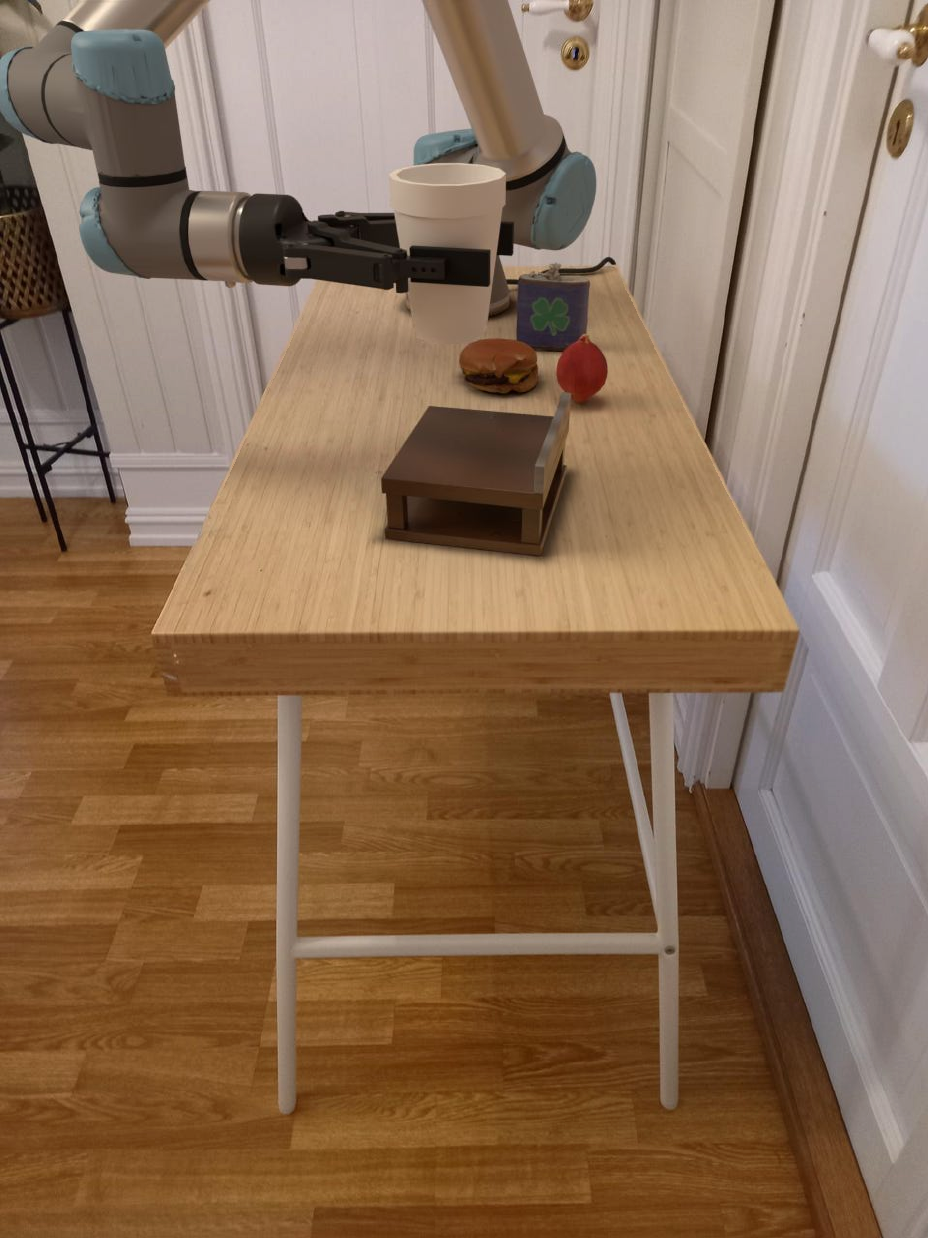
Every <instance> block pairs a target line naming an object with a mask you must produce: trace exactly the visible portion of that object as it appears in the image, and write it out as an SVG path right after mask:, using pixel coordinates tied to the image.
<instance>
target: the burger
mask: <svg viewBox="0 0 928 1238" xmlns="http://www.w3.org/2000/svg"><path fill="white" fill-rule="evenodd" d="M516 340H517V339H510V338H499V337H497V338H494V337H493V338H485V339H483V338H482V339H478V340H476V341H474V342H470V343H468V344H467V345H465V347H464V348H463V349H462V350H461V352H460V353H459V358H458V364H459V368H460V369H461V370H462V371H461V372H462V376H463V380H464V381H465V382H466V383H468V384H469V385H471V387H473V388H474V389H476V390H479V391H484V392H489V393H499V394H503V395H504V394H508V393H510V391H516V392H517V393H520V394H521V393H526V392H529V391H530V390H532V389H533V388H535V387H536V385H537V384H538V373H539V365H538V355H537V352H536V351H535V350H533V349H532V348H531V347H530V346H528V345H527V344H525V343H523V342H520V341H516Z"/></svg>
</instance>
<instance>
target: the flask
mask: <svg viewBox="0 0 928 1238" xmlns="http://www.w3.org/2000/svg"><path fill="white" fill-rule="evenodd" d="M548 268H549V269H550V270H549V269H548V270H549V271H548V272H546V273H541V272H542V271H538V272H537V273H536V271H535V270H532V271H531V272H529V273H524V274H521V275H519V277H518V285H517V298H516V301H517V302H516V303H517V304H516V306H517V307H516V326H515V327H516V329H515V332H516V333H515V340H516V341H520V342H523V343H525V344H527V345H528V346H530V347H531V348H532V349H533V350H534V351H535V350H536V351H552V352H564V351H565V350H566V349H567V348H568V347H569V346H570V345H571V344H573V343H575V342H577V341H578V340H579V338H580V337H581V336H582V335H583V334H586V335H587V331H588V330H587V329H588V320H589V319H588V315H589V314H588V313H589V298H590V289H591V288H590V287H591V280H590V279H589V278H587V277H584V276H560V275H561V273H558V272H559V271H558V270H559V268H562V264H561V263H558V262H554V263H549V264H548ZM537 274H541V275H537Z"/></svg>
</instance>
